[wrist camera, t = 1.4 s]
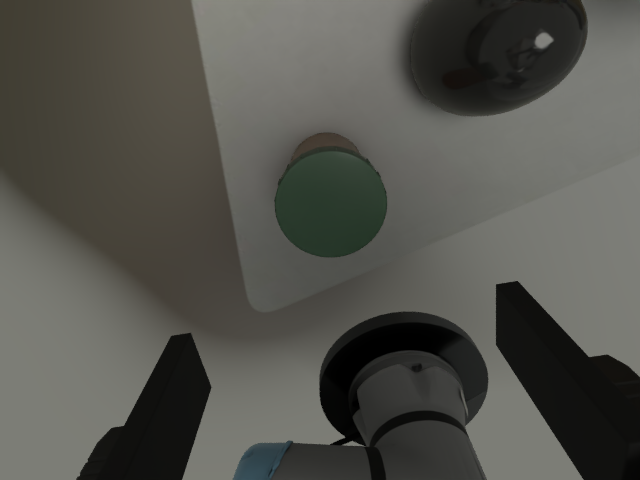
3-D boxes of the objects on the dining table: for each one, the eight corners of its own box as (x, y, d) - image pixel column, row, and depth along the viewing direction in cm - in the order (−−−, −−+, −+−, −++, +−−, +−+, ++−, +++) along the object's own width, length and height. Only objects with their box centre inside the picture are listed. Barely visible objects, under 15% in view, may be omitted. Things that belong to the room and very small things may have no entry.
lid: (323, 266, 33) (323, 277, 31) (254, 193, 30) (250, 201, 28) (404, 205, 31) (409, 213, 29) (337, 121, 28) (339, 125, 26)
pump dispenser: (533, -18, 33) (695, -77, 19) (501, 114, 37) (614, 144, 23) (411, -28, 32) (484, -97, 18) (393, 106, 37) (441, 132, 23)
